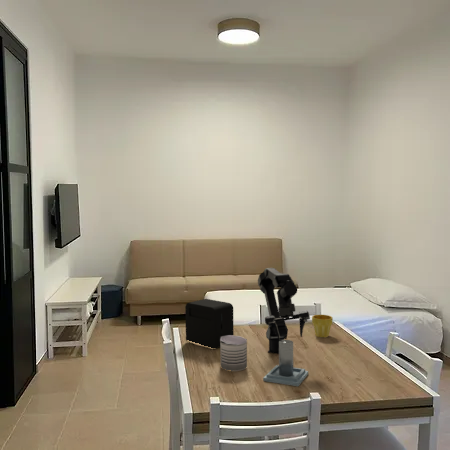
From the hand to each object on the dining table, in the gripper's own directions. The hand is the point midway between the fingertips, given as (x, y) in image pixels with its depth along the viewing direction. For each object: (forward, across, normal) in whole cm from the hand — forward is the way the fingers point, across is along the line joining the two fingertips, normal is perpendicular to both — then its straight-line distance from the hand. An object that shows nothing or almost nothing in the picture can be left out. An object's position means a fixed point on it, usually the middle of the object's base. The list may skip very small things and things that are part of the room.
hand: (290, 338), depth 203 cm
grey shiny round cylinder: (+15, -3, -8) cm, 17 cm away
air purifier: (-7, -42, +27) cm, 50 cm away
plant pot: (-6, +12, +50) cm, 51 cm away
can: (+9, -25, -1) cm, 27 cm away
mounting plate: (+16, -3, -7) cm, 18 cm away
